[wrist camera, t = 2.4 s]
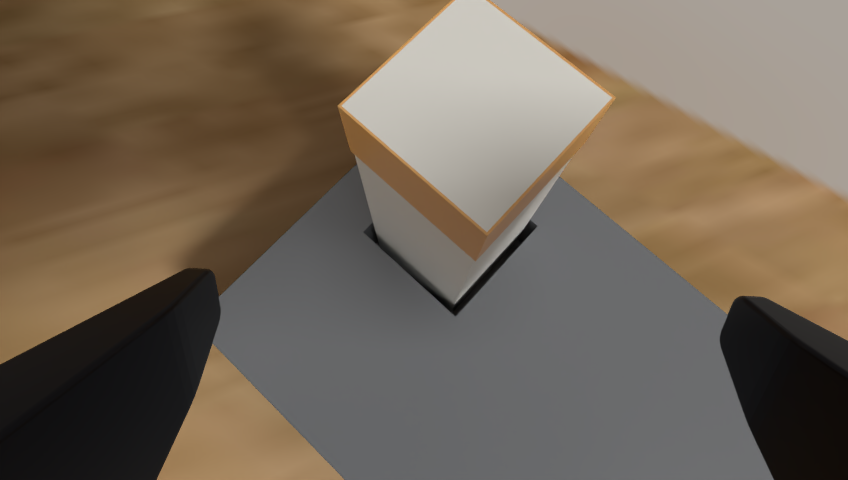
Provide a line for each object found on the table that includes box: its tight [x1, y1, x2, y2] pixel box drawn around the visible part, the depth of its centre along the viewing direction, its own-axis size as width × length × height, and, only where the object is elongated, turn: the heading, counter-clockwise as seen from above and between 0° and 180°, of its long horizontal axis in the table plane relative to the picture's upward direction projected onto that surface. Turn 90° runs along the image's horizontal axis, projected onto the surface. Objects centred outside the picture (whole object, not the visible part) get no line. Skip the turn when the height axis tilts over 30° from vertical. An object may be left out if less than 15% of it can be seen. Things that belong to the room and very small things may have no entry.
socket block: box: [213, 164, 774, 480], centre depth 18 cm, size 20×12×3 cm, turn 47°
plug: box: [338, 0, 616, 312], centre depth 15 cm, size 4×4×11 cm
